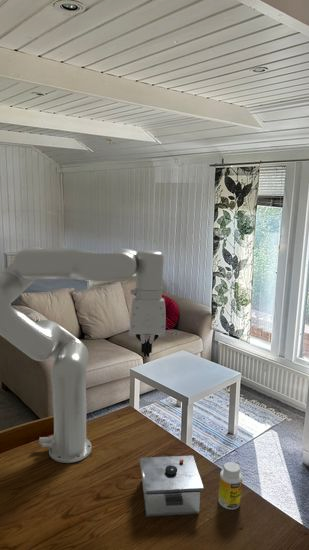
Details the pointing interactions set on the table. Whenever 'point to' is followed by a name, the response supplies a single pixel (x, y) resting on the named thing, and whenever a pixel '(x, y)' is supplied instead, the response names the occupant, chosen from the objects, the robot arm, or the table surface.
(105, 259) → the robot arm
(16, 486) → the table surface
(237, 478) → the supplement bottle
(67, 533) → the table surface
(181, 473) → the lid
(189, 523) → the table surface
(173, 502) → the cooker pot
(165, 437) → the table surface
